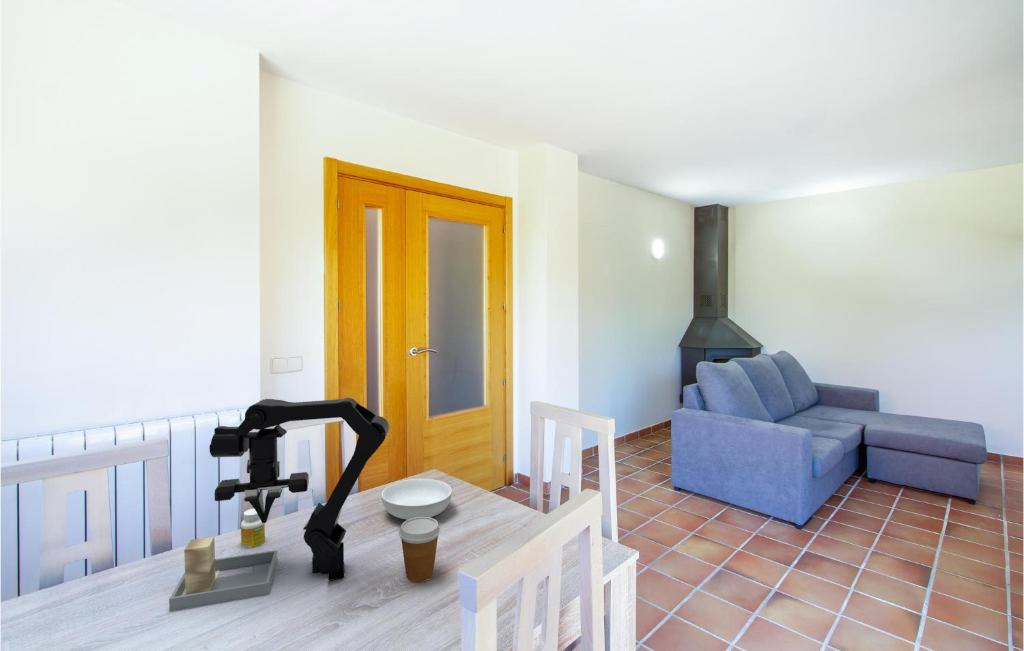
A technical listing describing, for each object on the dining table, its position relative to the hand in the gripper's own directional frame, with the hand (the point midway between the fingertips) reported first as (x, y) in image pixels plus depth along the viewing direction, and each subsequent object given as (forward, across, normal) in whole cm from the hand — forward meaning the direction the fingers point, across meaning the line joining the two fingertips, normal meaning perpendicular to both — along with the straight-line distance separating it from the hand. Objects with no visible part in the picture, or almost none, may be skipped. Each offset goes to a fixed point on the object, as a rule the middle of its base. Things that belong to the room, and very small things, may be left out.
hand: (264, 522), depth 111 cm
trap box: (+13, +7, +3) cm, 15 cm away
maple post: (+12, +12, +3) cm, 17 cm away
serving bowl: (+13, -38, -23) cm, 46 cm away
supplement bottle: (+13, +5, -15) cm, 21 cm away
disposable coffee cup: (+13, -34, +10) cm, 38 cm away
